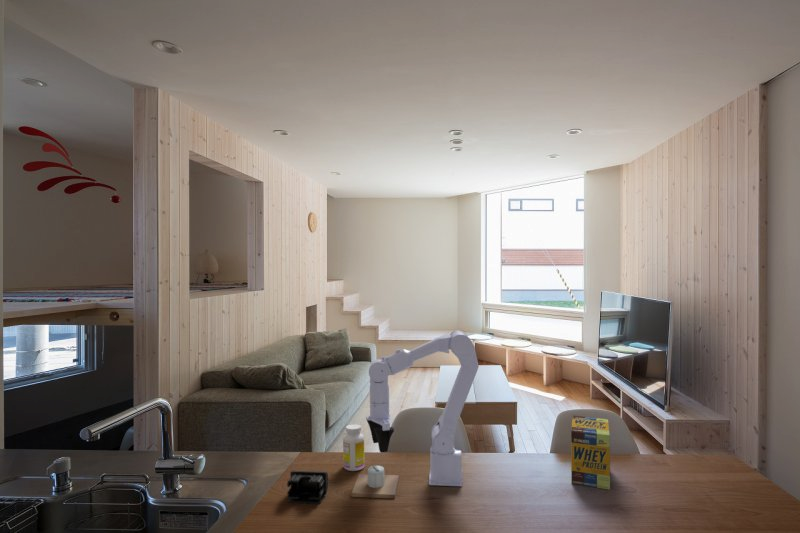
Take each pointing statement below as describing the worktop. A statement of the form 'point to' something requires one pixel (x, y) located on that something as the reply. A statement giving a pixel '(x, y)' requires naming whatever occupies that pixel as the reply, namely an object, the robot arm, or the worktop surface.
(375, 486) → the cap
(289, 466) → the worktop surface
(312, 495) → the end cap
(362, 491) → the post board
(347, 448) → the supplement bottle
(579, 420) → the protein box
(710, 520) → the worktop surface
